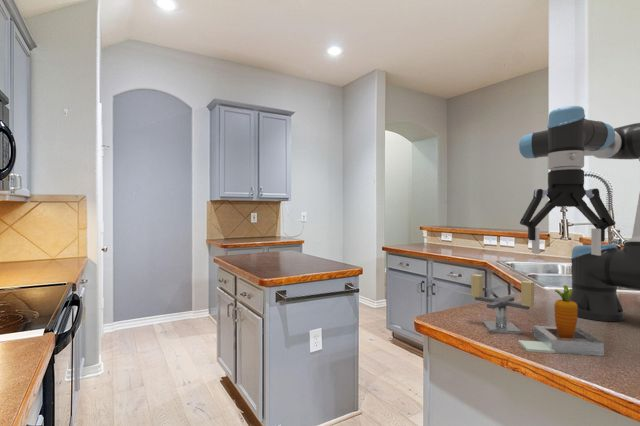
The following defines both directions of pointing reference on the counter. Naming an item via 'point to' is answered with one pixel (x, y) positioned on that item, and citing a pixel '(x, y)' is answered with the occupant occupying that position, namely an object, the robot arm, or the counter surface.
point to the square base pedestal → (501, 323)
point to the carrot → (565, 314)
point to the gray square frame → (569, 341)
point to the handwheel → (526, 297)
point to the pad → (535, 346)
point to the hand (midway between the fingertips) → (565, 254)
